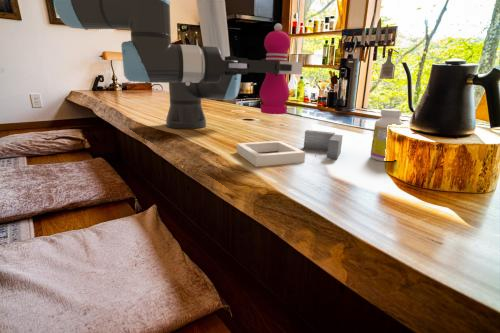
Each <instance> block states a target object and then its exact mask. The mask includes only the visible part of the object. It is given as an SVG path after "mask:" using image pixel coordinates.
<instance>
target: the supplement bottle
mask: <svg viewBox="0 0 500 333" xmlns="http://www.w3.org/2000/svg"><path fill="white" fill-rule="evenodd" d="M380 110H381V111H380V115H381V117H379V118H378V119H377V120H376V121H375V123H374V128H373V129H374V130H373V134H372V142H371V148H370V149H371V150H370V157H371V159H373V160H375V161H379V162H384V158H385V149H386V137H387V126H388V125H392V124H396V125H401V124H404V122H403V121H402V120H401V116H402V110H401V109H397V108H381V109H380Z"/></svg>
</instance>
